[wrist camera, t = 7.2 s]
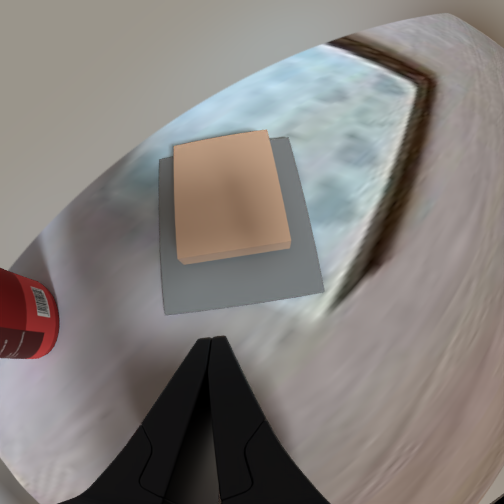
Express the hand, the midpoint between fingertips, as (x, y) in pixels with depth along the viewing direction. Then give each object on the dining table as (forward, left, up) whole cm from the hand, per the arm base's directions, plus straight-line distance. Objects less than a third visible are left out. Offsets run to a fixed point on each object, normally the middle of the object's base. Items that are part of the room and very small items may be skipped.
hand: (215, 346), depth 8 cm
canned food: (+14, +16, -13) cm, 25 cm away
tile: (+5, -4, -11) cm, 13 cm away
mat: (+8, -5, -13) cm, 16 cm away
